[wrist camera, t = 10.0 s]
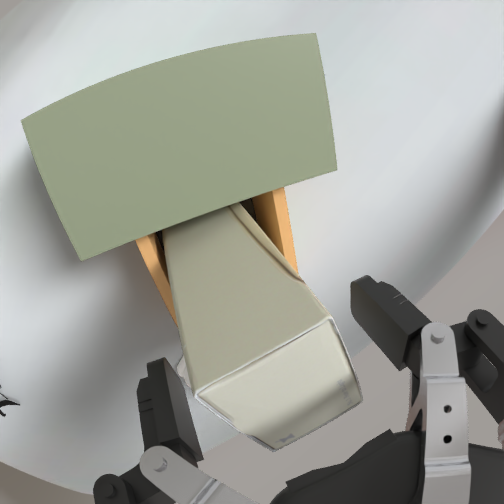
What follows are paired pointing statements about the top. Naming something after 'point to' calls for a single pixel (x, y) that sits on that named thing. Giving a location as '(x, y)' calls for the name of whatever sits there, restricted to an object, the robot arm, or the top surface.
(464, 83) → the top surface
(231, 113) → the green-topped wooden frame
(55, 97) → the top surface
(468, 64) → the top surface
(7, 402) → the creature
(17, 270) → the top surface
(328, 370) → the skincare box
